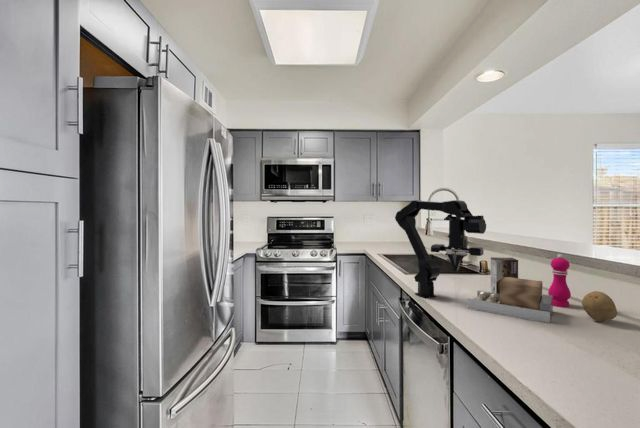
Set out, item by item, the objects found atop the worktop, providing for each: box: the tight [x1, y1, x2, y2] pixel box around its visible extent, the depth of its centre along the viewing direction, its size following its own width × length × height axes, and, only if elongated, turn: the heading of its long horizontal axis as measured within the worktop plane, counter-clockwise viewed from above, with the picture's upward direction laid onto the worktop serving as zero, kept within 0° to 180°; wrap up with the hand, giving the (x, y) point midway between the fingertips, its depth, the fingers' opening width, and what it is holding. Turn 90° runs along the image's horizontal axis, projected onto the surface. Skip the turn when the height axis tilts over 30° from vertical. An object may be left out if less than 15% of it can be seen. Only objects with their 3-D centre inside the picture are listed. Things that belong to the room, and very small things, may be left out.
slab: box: [500, 277, 543, 310], centre depth 122 cm, size 12×12×8 cm
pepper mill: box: [547, 253, 572, 308], centre depth 131 cm, size 7×7×20 cm
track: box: [467, 290, 554, 324], centre depth 125 cm, size 26×16×6 cm, turn 52°
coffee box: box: [489, 256, 519, 294], centre depth 145 cm, size 9×6×16 cm
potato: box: [581, 290, 618, 323], centre depth 113 cm, size 9×9×10 cm
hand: (456, 271), depth 133 cm, fingers closed
